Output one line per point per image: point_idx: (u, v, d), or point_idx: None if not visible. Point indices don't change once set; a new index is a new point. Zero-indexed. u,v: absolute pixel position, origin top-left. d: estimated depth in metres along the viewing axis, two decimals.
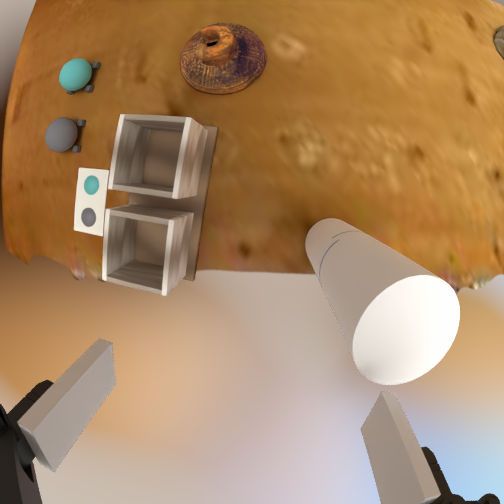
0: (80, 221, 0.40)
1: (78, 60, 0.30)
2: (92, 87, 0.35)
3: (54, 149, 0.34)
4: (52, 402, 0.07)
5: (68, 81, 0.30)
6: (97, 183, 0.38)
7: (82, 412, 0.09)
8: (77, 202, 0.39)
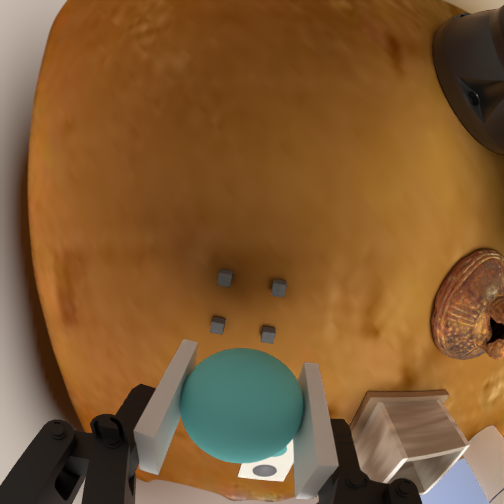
0: (250, 472, 0.28)
1: (277, 406, 0.10)
2: None
3: None
4: (164, 405, 0.09)
5: None
6: (284, 448, 0.27)
7: (177, 411, 0.11)
8: None
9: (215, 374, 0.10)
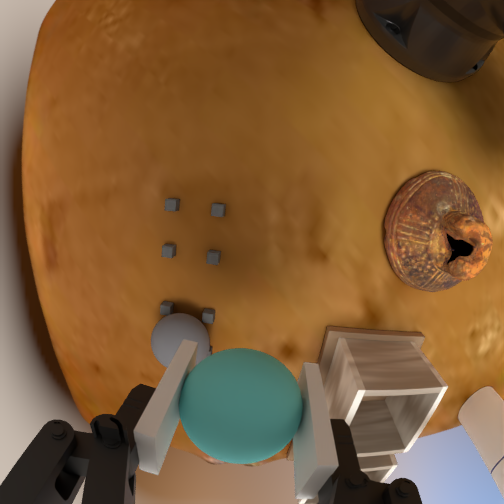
0: None
1: (276, 406, 0.10)
2: (219, 255, 0.26)
3: None
4: (163, 405, 0.09)
5: None
6: None
7: (177, 411, 0.11)
8: None
9: (214, 374, 0.10)
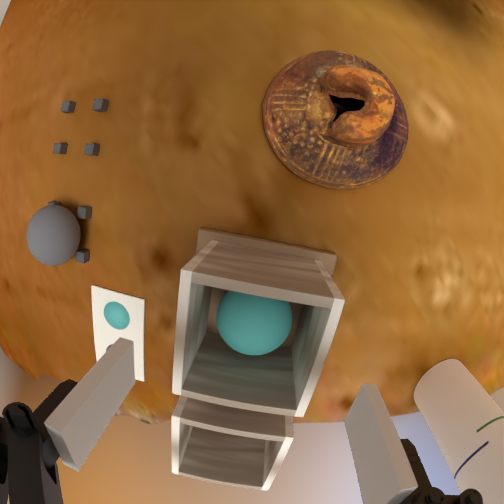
0: None
1: (275, 307, 0.19)
2: (96, 147, 0.22)
3: (46, 264, 0.21)
4: (79, 401, 0.08)
5: (258, 353, 0.19)
6: (126, 315, 0.26)
7: (105, 410, 0.10)
8: (97, 333, 0.27)
9: None
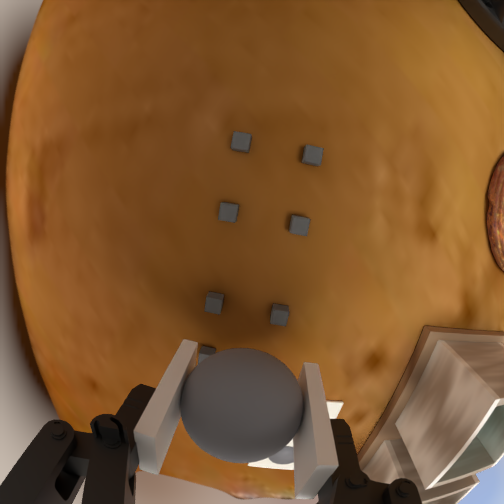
0: (265, 459, 0.22)
1: None
2: None
3: None
4: (164, 405, 0.09)
5: None
6: None
7: (177, 411, 0.11)
8: None
9: None
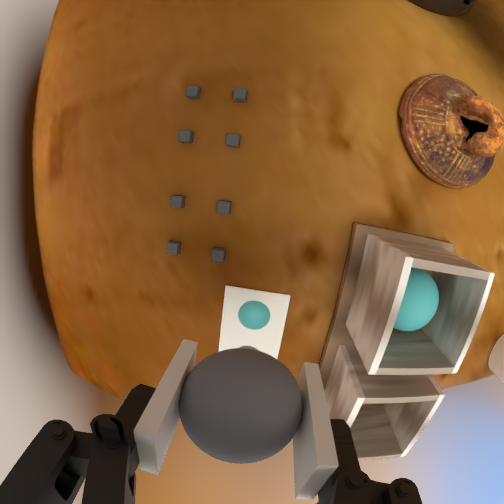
0: None
1: (434, 286, 0.20)
2: (239, 138, 0.23)
3: None
4: (164, 405, 0.09)
5: (418, 328, 0.20)
6: (267, 314, 0.27)
7: (177, 411, 0.11)
8: (224, 337, 0.28)
9: None
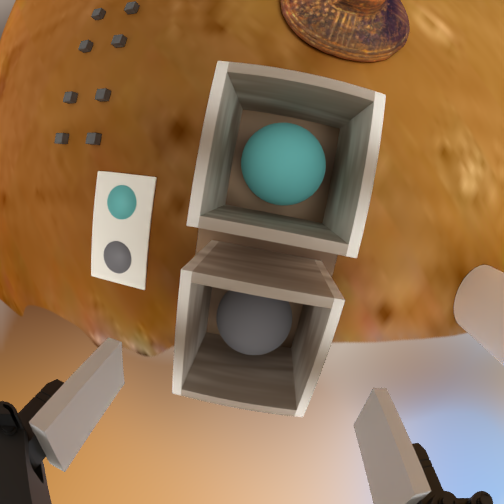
0: (102, 263, 0.25)
1: (308, 136, 0.16)
2: (124, 39, 0.19)
3: None
4: (63, 401, 0.08)
5: (291, 192, 0.17)
6: (133, 199, 0.23)
7: (92, 411, 0.09)
8: (95, 230, 0.24)
9: None
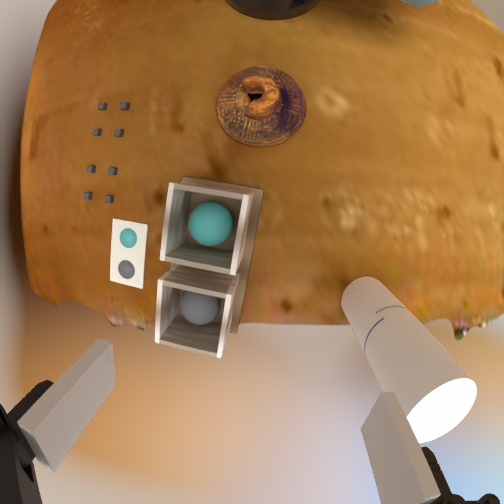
0: (117, 272, 0.42)
1: (219, 211, 0.34)
2: (122, 131, 0.37)
3: None
4: (52, 402, 0.07)
5: (210, 241, 0.34)
6: (135, 237, 0.41)
7: (82, 412, 0.09)
8: (113, 253, 0.41)
9: (201, 204, 0.35)
